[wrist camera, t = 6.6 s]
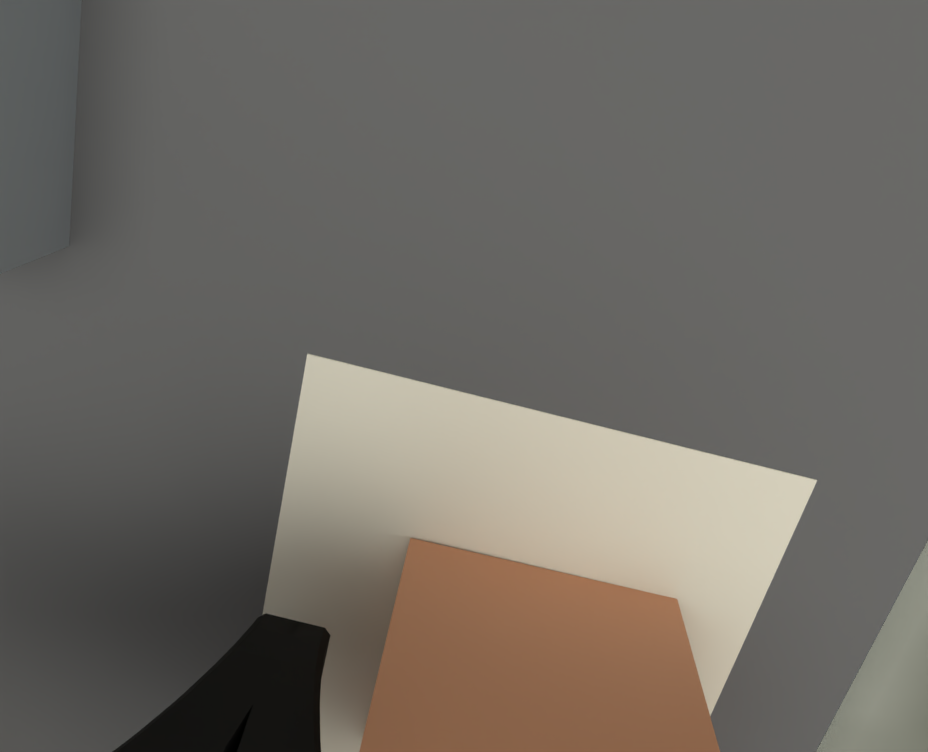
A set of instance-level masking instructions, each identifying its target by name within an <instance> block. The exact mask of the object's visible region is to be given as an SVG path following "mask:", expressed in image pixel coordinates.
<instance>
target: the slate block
mask: <svg viewBox="0 0 928 752" xmlns="http://www.w3.org/2000/svg"><path fill="white" fill-rule="evenodd" d="M81 3H82V0H0V274H1V273H3V272H5V271H8V270H10V269H13V268H15V267H18V266H20V265H23V264H25V263H28V262H30V261H33V260H35V259H38V258H40V257H43V256H45V255H48V254H50V253H53V252H55V251H58V250H60V249H63V248H65V247H68V246H69V238H70V219H71V199H72V179H73V160H74V140H75V121H76V101H77V81H78V62H79V42H80V23H81Z"/></svg>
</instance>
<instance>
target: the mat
mask: <svg viewBox="0 0 928 752" xmlns="http://www.w3.org/2000/svg"><path fill="white" fill-rule="evenodd" d="M410 538H413V539H417V540H422V541H426V542H431V543H435V544H439V545H444V546H448V547H452V548H457V549H461V550H465V551H470V552H474V553H479V554H483V555H487V556H492V557H496V558H500V559H505V560H509V561H514V562H518V563H522V564H527V565H531V566H535V567H540V568H544V569H549V570H553V571H557V572H562V573H566V574H570V575H575V576H579V577H583V578H588V579H592V580H597V581H601V582H605V583H610V584H614V585H618V586H623V587H627V588H632V589H636V590H640V591H645V592H649V593H653V594H658V595H662V596H666V597H671V598H675V599H677V600H678V604H679V607H680V611H681V614H682V618H683V621H684V625H685V629H686V632H687V636H688V639H689V643H690V646H691V650H692V653H693V657H694V661H695V664H696V668H697V671H698V675H699V678H700V682H701V685H702V689H703V693H704V696H705V700H706V703H707V707H708V710H709V714H710V717H711V721H712V725H713V728H714V732H715V735H716V739H717V742H718V746H719V750H720V752H816V750H817V749H818V747H819V745H820V743H821V741H822V739H823V737H824V735H825V733H826V732H827V730H828V728H829V726H830V724H831V722H832V720H833V718H834V716H835V715H836V713H837V711H838V709H839V707H840V705H841V703H842V701H843V699H844V698H845V696H846V694H847V692H848V690H849V688H850V686H851V684H852V682H853V681H854V679H855V677H856V675H857V673H858V671H859V669H860V667H861V665H862V664H863V662H864V660H865V658H866V656H867V654H868V652H869V650H870V648H871V647H872V645H873V643H874V641H875V639H876V637H877V635H878V633H879V631H880V630H881V628H882V626H883V624H884V622H885V620H886V618H887V616H888V614H889V613H890V611H891V609H892V607H893V605H894V603H895V601H896V599H897V597H898V596H899V594H900V592H901V590H902V588H903V586H904V584H905V582H906V580H907V579H908V577H909V575H910V573H911V571H912V569H913V567H914V565H915V563H916V562H917V560H918V558H919V556H920V554H921V552H922V550H923V548H924V546H925V545H926V543H927V541H928V0H82V3H81V23H80V42H79V62H78V81H77V101H76V121H75V140H74V160H73V179H72V199H71V219H70V238H69V246H68V247H65V248H63V249H60V250H58V251H55V252H53V253H50V254H48V255H45V256H43V257H40V258H38V259H35V260H33V261H30V262H28V263H25V264H23V265H20V266H18V267H15V268H13V269H10V270H8V271H5V272H3V273H1V274H0V752H113V751H114V750H115V749H117V748H118V747H119V746H121V745H122V744H123V743H124V742H126V741H127V740H128V739H130V738H131V737H132V736H134V735H135V734H136V733H137V732H139V731H140V730H141V729H142V728H143V727H145V726H146V725H147V724H148V723H149V722H151V721H152V720H153V719H154V718H155V717H157V716H158V715H159V714H160V713H161V712H163V711H164V710H165V709H166V708H167V707H169V706H170V705H171V704H172V703H173V702H175V701H176V700H177V699H178V698H179V697H180V696H181V695H182V694H184V693H185V692H186V691H187V690H188V689H189V688H190V687H191V686H192V685H193V684H194V683H195V682H196V681H198V680H199V679H200V678H201V677H202V676H203V675H204V674H205V673H206V672H207V671H208V670H209V669H210V668H211V667H212V666H213V665H214V664H215V663H216V662H217V661H218V660H219V659H220V658H221V657H222V656H223V655H224V654H225V653H226V652H227V651H228V650H229V649H230V648H231V647H232V646H233V645H234V644H235V643H236V642H237V641H238V640H239V639H240V638H241V637H242V635H243V634H244V633H245V632H246V631H247V630H248V629H249V627H250V626H251V625H252V624H253V623H254V622H255V620H256V619H257V618H258V617H260V616H262V615H263V614H265V613H267V614H271V615H275V616H279V617H283V618H287V619H291V620H295V621H299V622H304V623H308V624H312V625H316V626H320V627H324V628H326V630H327V631H328V633H329V634H330V640H329V645H328V649H327V654H326V659H325V663H324V668H323V673H322V678H321V690H320V742H321V752H359V751H360V747H361V742H362V738H363V734H364V730H365V726H366V721H367V717H368V713H369V709H370V705H371V700H372V696H373V692H374V688H375V684H376V679H377V675H378V671H379V667H380V663H381V658H382V654H383V650H384V646H385V642H386V637H387V633H388V629H389V625H390V621H391V616H392V612H393V608H394V604H395V600H396V595H397V591H398V587H399V583H400V579H401V574H402V570H403V566H404V562H405V558H406V554H407V549H408V545H409V541H410Z"/></svg>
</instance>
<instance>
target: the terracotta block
mask: <svg viewBox="0 0 928 752" xmlns="http://www.w3.org/2000/svg"><path fill="white" fill-rule="evenodd" d="M359 752H720V750H719V746H718V742H717V739H716V735H715V732H714V728H713V725H712V721H711V717H710V714H709V710H708V707H707V703H706V700H705V696H704V693H703V689H702V685H701V682H700V678H699V675H698V671H697V668H696V664H695V661H694V657H693V653H692V650H691V646H690V643H689V639H688V636H687V632H686V629H685V625H684V621H683V618H682V614H681V611H680V607H679V604H678V600H677V599H675V598H671V597H666V596H662V595H658V594H653V593H649V592H645V591H640V590H636V589H632V588H627V587H623V586H618V585H614V584H610V583H605V582H601V581H597V580H592V579H588V578H583V577H579V576H575V575H570V574H566V573H562V572H557V571H553V570H549V569H544V568H540V567H535V566H531V565H527V564H522V563H518V562H514V561H509V560H505V559H500V558H496V557H492V556H487V555H483V554H479V553H474V552H470V551H465V550H461V549H457V548H452V547H448V546H444V545H439V544H435V543H431V542H426V541H422V540H417V539H413V538H410V541H409V545H408V549H407V554H406V558H405V562H404V566H403V570H402V574H401V579H400V583H399V587H398V591H397V595H396V600H395V604H394V608H393V612H392V616H391V621H390V625H389V629H388V633H387V637H386V642H385V646H384V650H383V654H382V658H381V663H380V667H379V671H378V675H377V679H376V684H375V688H374V692H373V696H372V700H371V705H370V709H369V713H368V717H367V721H366V726H365V730H364V734H363V738H362V742H361V747H360V751H359Z"/></svg>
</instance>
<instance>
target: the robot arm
mask: <svg viewBox="0 0 928 752" xmlns="http://www.w3.org/2000/svg"><path fill="white" fill-rule="evenodd" d="M329 640H330V634H329V633H328V631H327V630H326V628H324V627H320V626H316V625H312V624H308V623H304V622H299V621H295V620H291V619H287V618H283V617H279V616H275V615H271V614H267V613H265V614H263V615H262V616H260V617H258V618H257V619H256V620H255V622H254V623H253V624H252V625H251V626H250V627H249V629H248V630H247V631H246V632H245V633H244V634H243V635H242V637H241V638H240V639H239V640H238V641H237V642H236V643H235V644H234V645H233V646H232V647H231V648H230V649H229V650H228V651H227V652H226V653H225V654H224V655H223V656H222V657H221V658H220V659H219V660H218V661H217V662H216V663H215V664H214V665H213V666H212V667H211V668H210V669H209V670H208V671H207V672H206V673H205V674H204V675H203V676H202V677H201V678H200V679H199V680H198V681H196V682H195V683H194V684H193V685H192V686H191V687H190V688H189V689H188V690H187V691H186V692H185V693H184V694H182V695H181V696H180V697H179V698H178V699H177V700H176V701H175V702H173V703H172V704H171V705H170V706H169V707H167V708H166V709H165V710H164V711H163V712H161V713H160V714H159V715H158V716H157V717H155V718H154V719H153V720H152V721H151V722H149V723H148V724H147V725H146V726H145V727H143V728H142V729H141V730H140V731H139V732H137V733H136V734H135V735H134V736H132V737H131V738H130V739H128V740H127V741H126V742H124V743H123V744H122V745H121V746H119V747H118V748H117V749H115V750H114V751H113V752H321V742H320V690H321V678H322V673H323V668H324V663H325V659H326V654H327V649H328V645H329Z"/></svg>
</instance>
